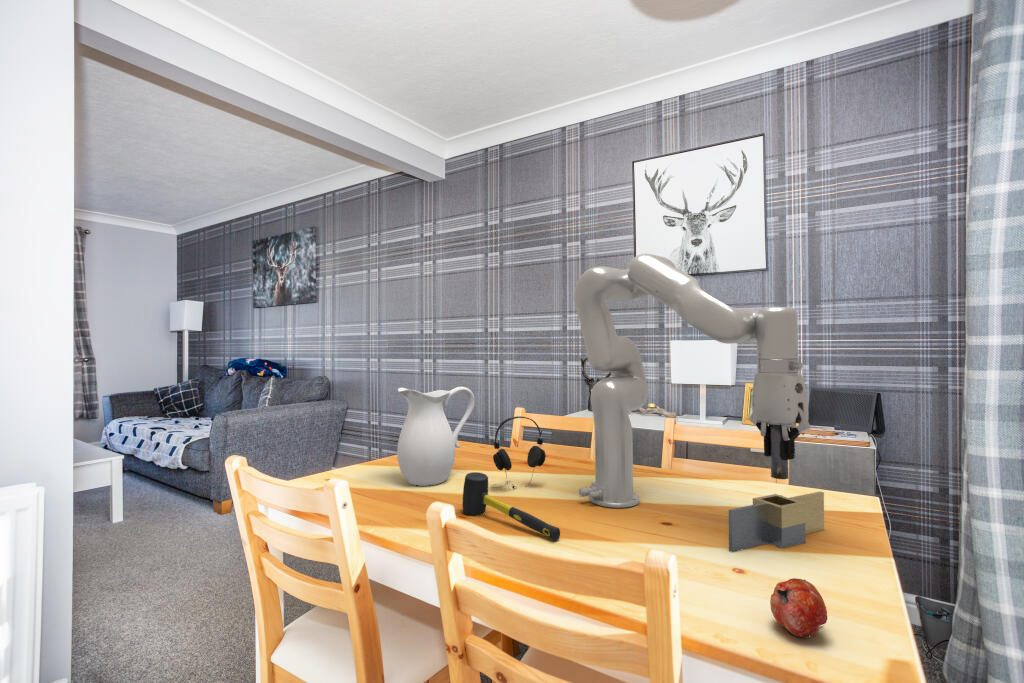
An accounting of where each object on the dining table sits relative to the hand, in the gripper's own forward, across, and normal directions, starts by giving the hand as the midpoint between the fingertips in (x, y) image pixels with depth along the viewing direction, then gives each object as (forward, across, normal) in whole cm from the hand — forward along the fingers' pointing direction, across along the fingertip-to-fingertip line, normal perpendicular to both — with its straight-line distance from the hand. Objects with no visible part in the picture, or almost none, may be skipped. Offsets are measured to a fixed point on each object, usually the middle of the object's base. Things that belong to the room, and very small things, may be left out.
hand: (779, 456), depth 106 cm
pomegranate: (+17, -24, +26) cm, 39 cm away
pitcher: (+17, +76, +50) cm, 93 cm away
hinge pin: (+4, 0, 0) cm, 4 cm away
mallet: (+17, +33, +46) cm, 59 cm away
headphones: (+17, +59, +32) cm, 69 cm away
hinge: (+17, 0, 0) cm, 17 cm away
